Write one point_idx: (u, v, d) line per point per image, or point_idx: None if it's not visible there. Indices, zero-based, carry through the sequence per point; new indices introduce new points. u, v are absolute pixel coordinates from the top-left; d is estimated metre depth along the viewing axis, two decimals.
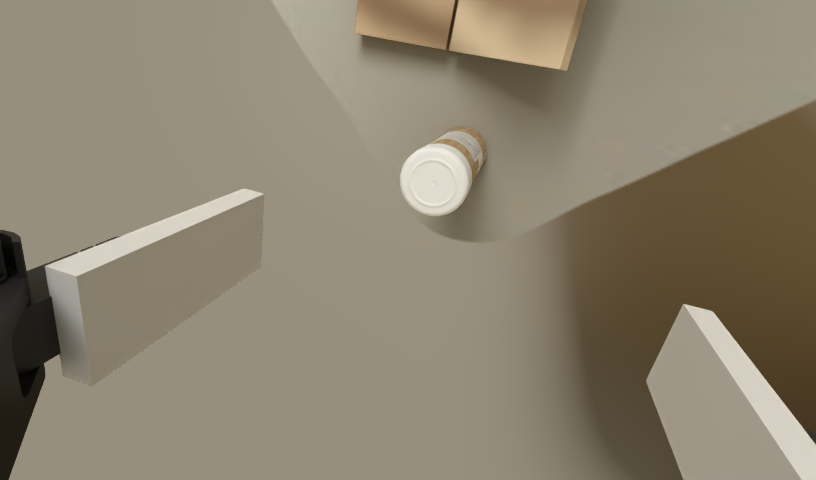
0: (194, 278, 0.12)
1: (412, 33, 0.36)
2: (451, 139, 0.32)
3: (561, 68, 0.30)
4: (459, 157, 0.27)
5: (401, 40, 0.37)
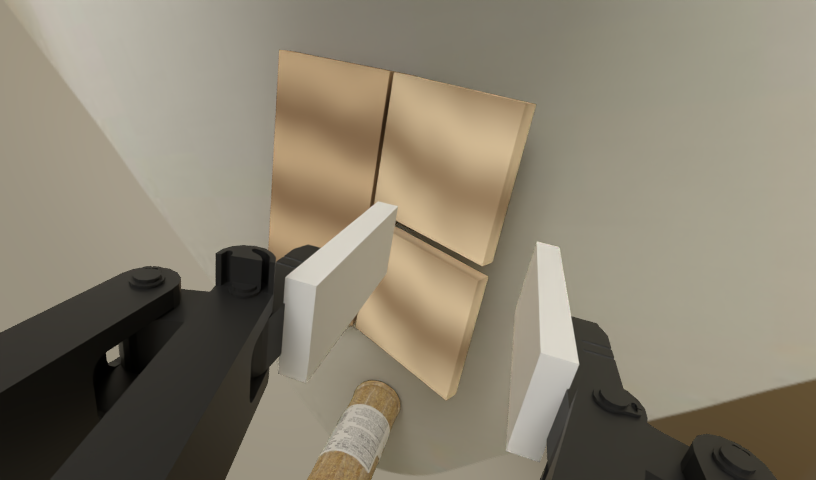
0: (359, 285, 0.13)
1: None
2: (345, 451, 0.32)
3: (448, 398, 0.30)
4: None
5: None
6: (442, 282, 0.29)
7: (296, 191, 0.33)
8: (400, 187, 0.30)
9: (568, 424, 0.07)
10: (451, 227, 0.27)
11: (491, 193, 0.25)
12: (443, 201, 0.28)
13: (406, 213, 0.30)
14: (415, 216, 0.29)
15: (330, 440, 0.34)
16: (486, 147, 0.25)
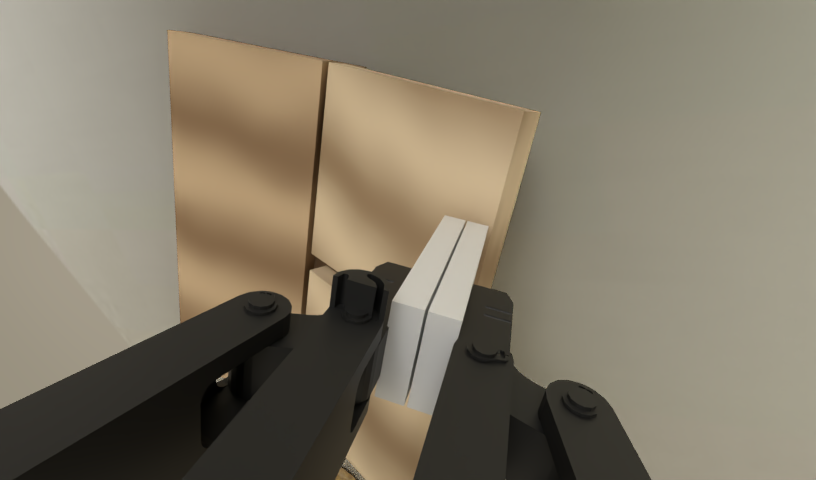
0: None
1: None
2: None
3: None
4: None
5: None
6: None
7: (207, 227, 0.24)
8: (343, 228, 0.21)
9: (444, 379, 0.08)
10: None
11: None
12: (401, 254, 0.18)
13: (352, 265, 0.21)
14: None
15: None
16: (461, 179, 0.16)
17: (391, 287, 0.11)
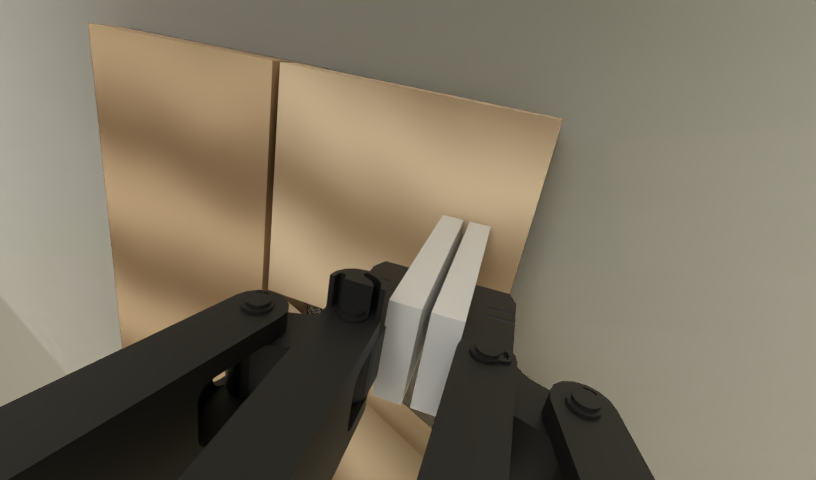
0: None
1: None
2: None
3: None
4: None
5: None
6: (369, 441, 0.16)
7: (148, 257, 0.21)
8: (319, 256, 0.18)
9: (447, 380, 0.08)
10: None
11: (500, 262, 0.16)
12: None
13: None
14: None
15: None
16: (487, 192, 0.15)
17: (389, 286, 0.11)
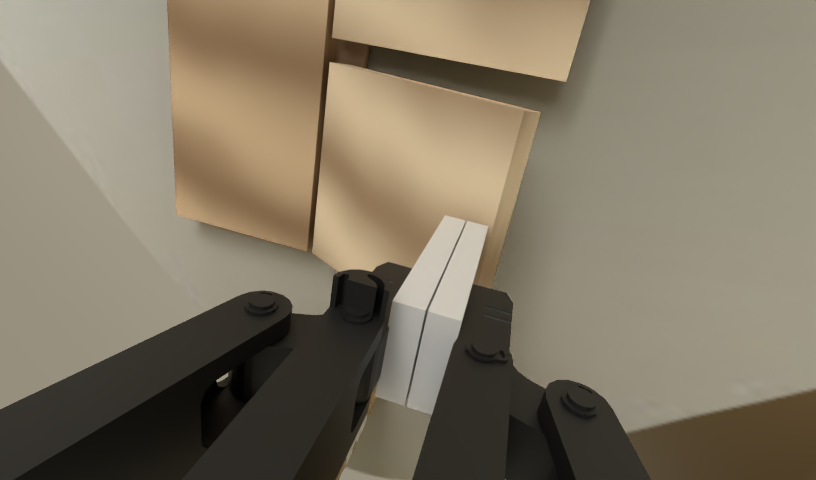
0: None
1: (257, 224, 0.23)
2: None
3: None
4: None
5: (243, 232, 0.24)
6: (451, 136, 0.16)
7: (206, 18, 0.20)
8: None
9: (443, 379, 0.08)
10: (503, 29, 0.17)
11: None
12: None
13: (405, 27, 0.18)
14: (426, 29, 0.18)
15: None
16: None
17: (392, 287, 0.11)
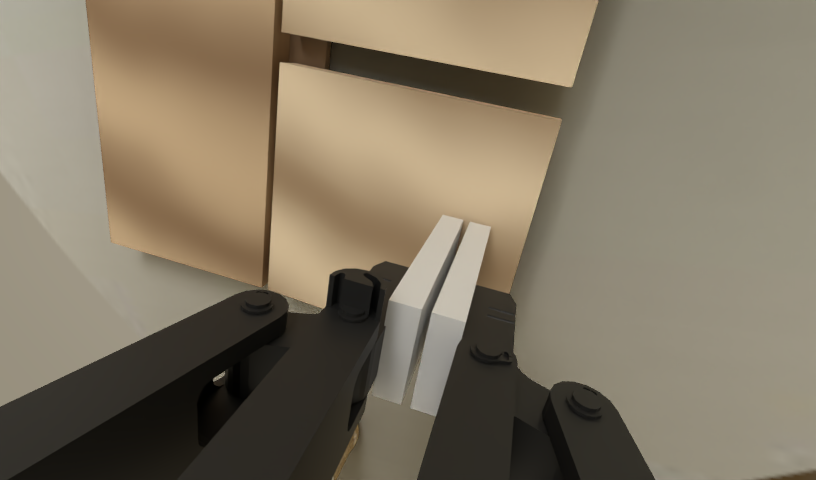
0: (436, 302, 0.13)
1: (203, 255, 0.20)
2: None
3: None
4: None
5: (187, 263, 0.20)
6: (471, 148, 0.15)
7: (130, 8, 0.17)
8: None
9: (447, 380, 0.08)
10: (491, 21, 0.13)
11: None
12: None
13: (369, 19, 0.14)
14: (395, 21, 0.14)
15: None
16: None
17: (388, 286, 0.11)
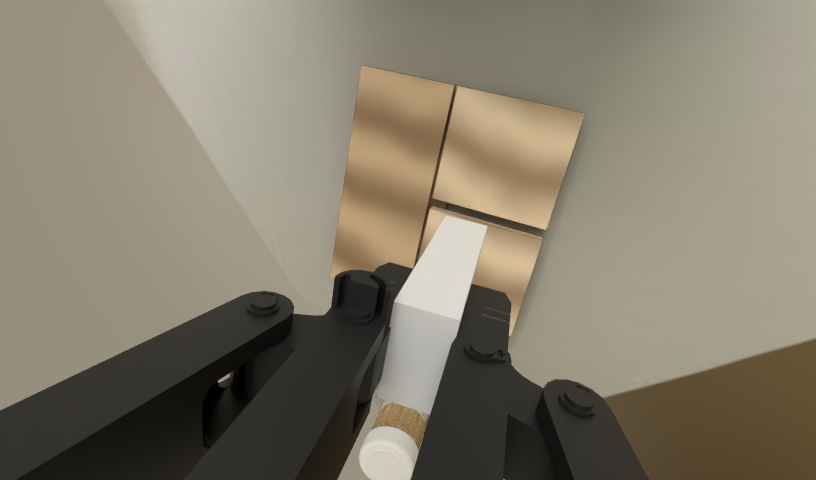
0: None
1: None
2: None
3: None
4: (406, 449, 0.34)
5: None
6: (508, 247, 0.38)
7: (365, 182, 0.40)
8: (464, 178, 0.37)
9: (442, 378, 0.08)
10: (517, 205, 0.37)
11: (555, 177, 0.35)
12: (509, 186, 0.36)
13: (470, 198, 0.38)
14: (480, 200, 0.37)
15: None
16: (551, 144, 0.34)
17: (393, 287, 0.11)
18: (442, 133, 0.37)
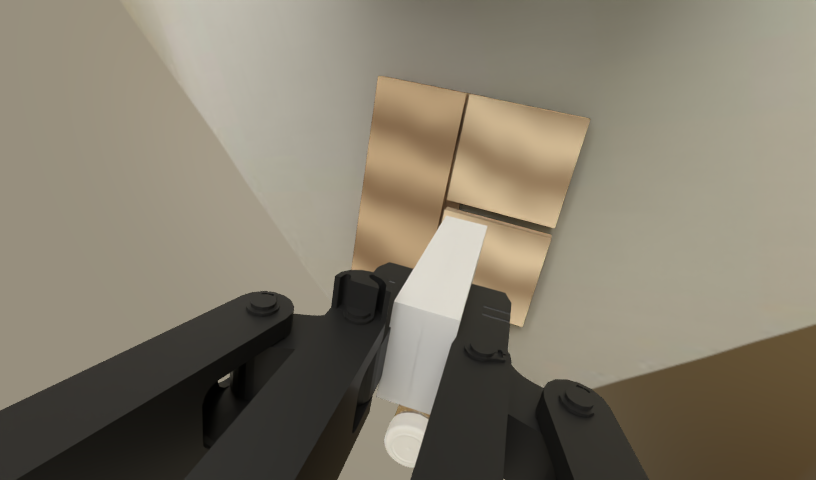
0: None
1: None
2: None
3: (522, 325, 0.43)
4: None
5: None
6: (519, 245, 0.40)
7: (383, 186, 0.42)
8: (476, 181, 0.40)
9: (442, 378, 0.08)
10: (527, 205, 0.39)
11: (562, 179, 0.37)
12: (519, 187, 0.39)
13: (482, 199, 0.40)
14: (492, 201, 0.40)
15: None
16: (558, 148, 0.37)
17: (393, 287, 0.11)
18: (455, 139, 0.39)
